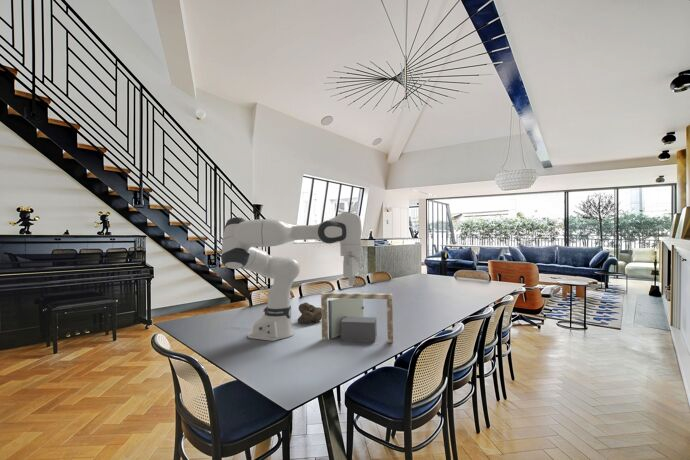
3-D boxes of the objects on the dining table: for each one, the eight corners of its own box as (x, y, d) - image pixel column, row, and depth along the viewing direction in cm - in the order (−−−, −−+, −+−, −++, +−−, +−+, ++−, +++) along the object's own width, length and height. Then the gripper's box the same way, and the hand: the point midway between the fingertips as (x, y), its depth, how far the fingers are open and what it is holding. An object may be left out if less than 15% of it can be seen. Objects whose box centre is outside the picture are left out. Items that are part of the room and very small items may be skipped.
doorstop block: (341, 340, 145) (340, 321, 145) (344, 334, 154) (344, 316, 155) (375, 342, 142) (374, 322, 142) (376, 335, 152) (376, 317, 152)
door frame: (321, 340, 146) (321, 293, 146) (323, 338, 148) (322, 292, 149) (393, 343, 140) (392, 294, 141) (393, 341, 143) (392, 293, 143)
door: (331, 339, 145) (330, 301, 145) (327, 338, 147) (326, 300, 147) (364, 325, 167) (363, 291, 167) (360, 324, 168) (359, 291, 169)
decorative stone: (323, 314, 170) (298, 304, 170) (316, 332, 171) (291, 322, 171) (326, 306, 186) (303, 297, 186) (320, 322, 187) (297, 313, 187)
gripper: (355, 253, 115) (356, 290, 115) (361, 249, 135) (362, 281, 135) (338, 253, 116) (339, 289, 116) (347, 250, 136) (348, 281, 136)
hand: (351, 285), depth 126 cm, fingers closed
